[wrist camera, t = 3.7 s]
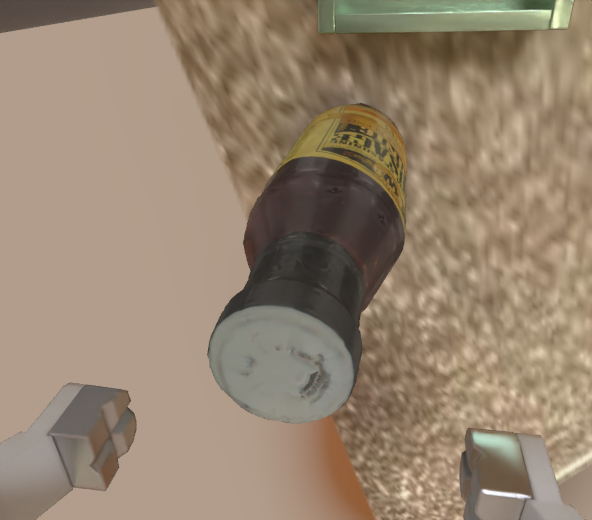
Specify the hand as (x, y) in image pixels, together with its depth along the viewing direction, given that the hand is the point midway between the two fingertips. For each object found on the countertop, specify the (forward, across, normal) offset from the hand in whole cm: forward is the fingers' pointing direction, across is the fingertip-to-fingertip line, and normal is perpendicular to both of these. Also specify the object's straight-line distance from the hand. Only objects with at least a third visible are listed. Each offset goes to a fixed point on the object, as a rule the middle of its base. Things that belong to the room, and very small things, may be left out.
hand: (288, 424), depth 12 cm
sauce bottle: (+21, 0, 0) cm, 21 cm away
